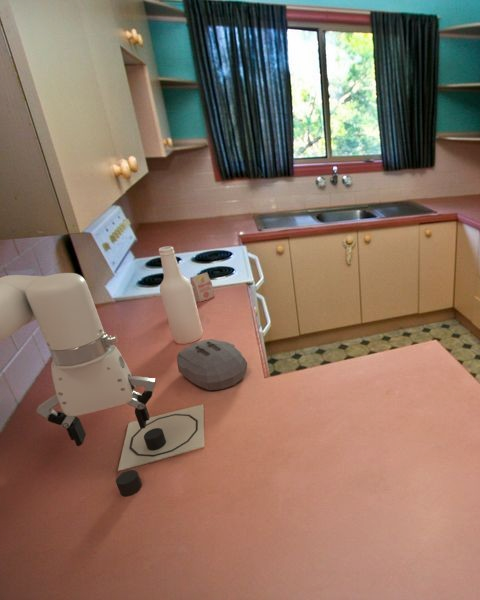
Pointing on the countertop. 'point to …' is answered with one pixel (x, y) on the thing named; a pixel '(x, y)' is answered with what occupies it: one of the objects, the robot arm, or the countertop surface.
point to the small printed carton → (202, 287)
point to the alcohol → (179, 300)
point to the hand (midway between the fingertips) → (113, 432)
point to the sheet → (178, 433)
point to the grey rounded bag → (212, 364)
